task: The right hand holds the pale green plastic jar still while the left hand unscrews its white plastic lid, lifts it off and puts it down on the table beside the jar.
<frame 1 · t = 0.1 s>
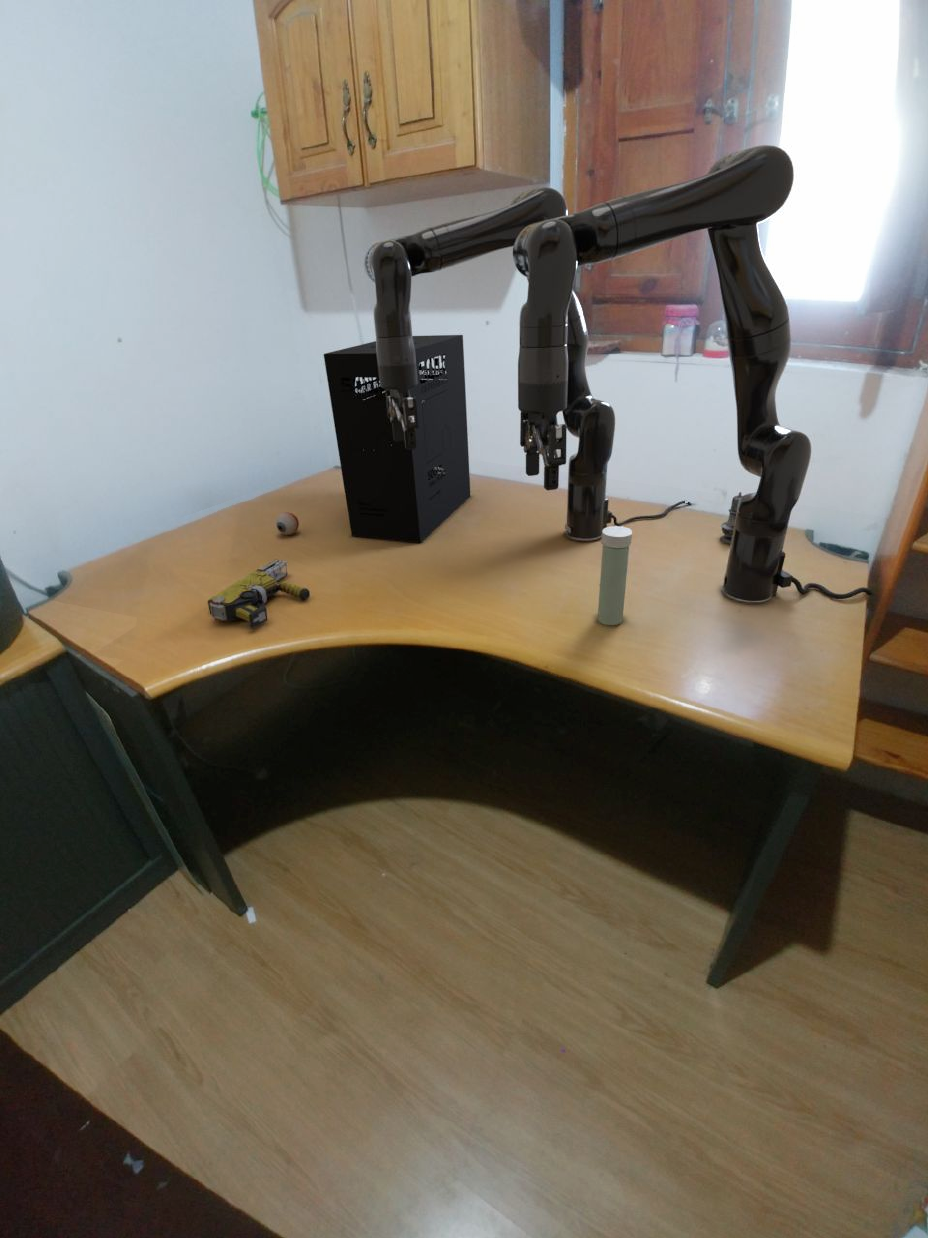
left hand: (404, 444, 126), 29 cm above the table, tool pointing down, fingers open, 8 cm apart
right hand: (541, 481, 100), 29 cm above the table, tool pointing down, fingers open, 8 cm apart
jar: (610, 619, 117), on the table
salt shaker: (731, 540, 147), on the table
cardboard box: (415, 515, 173), on the table
toy gun: (273, 601, 131), on the table
eyeball: (289, 534, 165), on the table
lid: (617, 533, 108), point 18 cm above the table, screwed on, not yet turned
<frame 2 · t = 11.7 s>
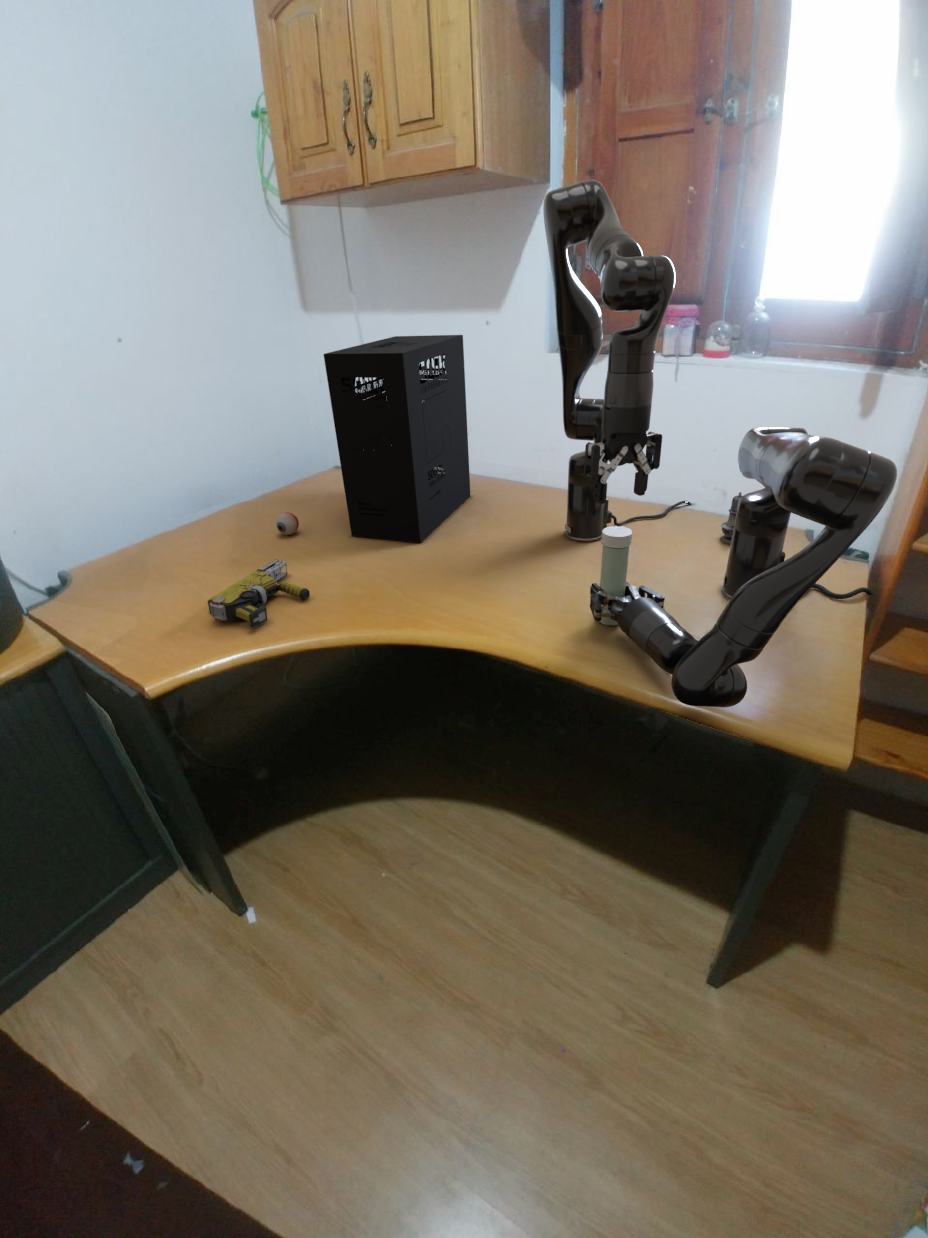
left hand: (619, 498, 105), 24 cm above the table, tool pointing down, fingers open, 7 cm apart
right hand: (605, 585, 116), 6 cm above the table, tool horizontal, fingers closed on jar, 4 cm apart
jar: (610, 619, 117), on the table, touching right hand
everything else where it was.
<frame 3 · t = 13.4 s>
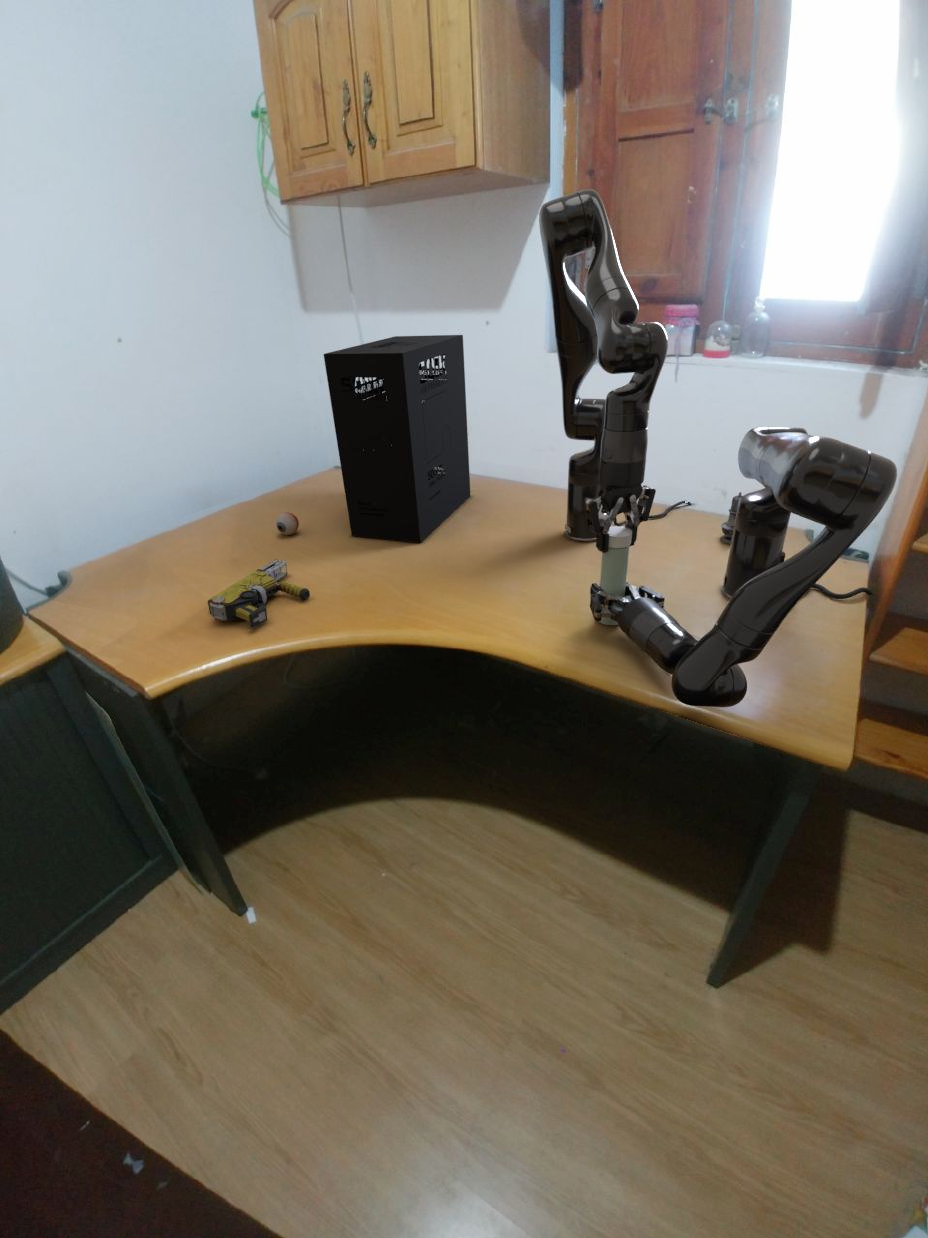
left hand: (615, 547, 110), 15 cm above the table, tool pointing down, fingers closed on lid, 5 cm apart
right hand: (605, 585, 116), 6 cm above the table, tool horizontal, fingers closed on jar, 4 cm apart
jar: (610, 619, 117), on the table, touching right hand
lid: (617, 533, 108), point 18 cm above the table, screwed on, not yet turned, touching left hand
everything else where it was.
when the left hand's fingers open (15 cm above the table, at t = 15.1 s): lid stays where it is, point 18 cm above the table.
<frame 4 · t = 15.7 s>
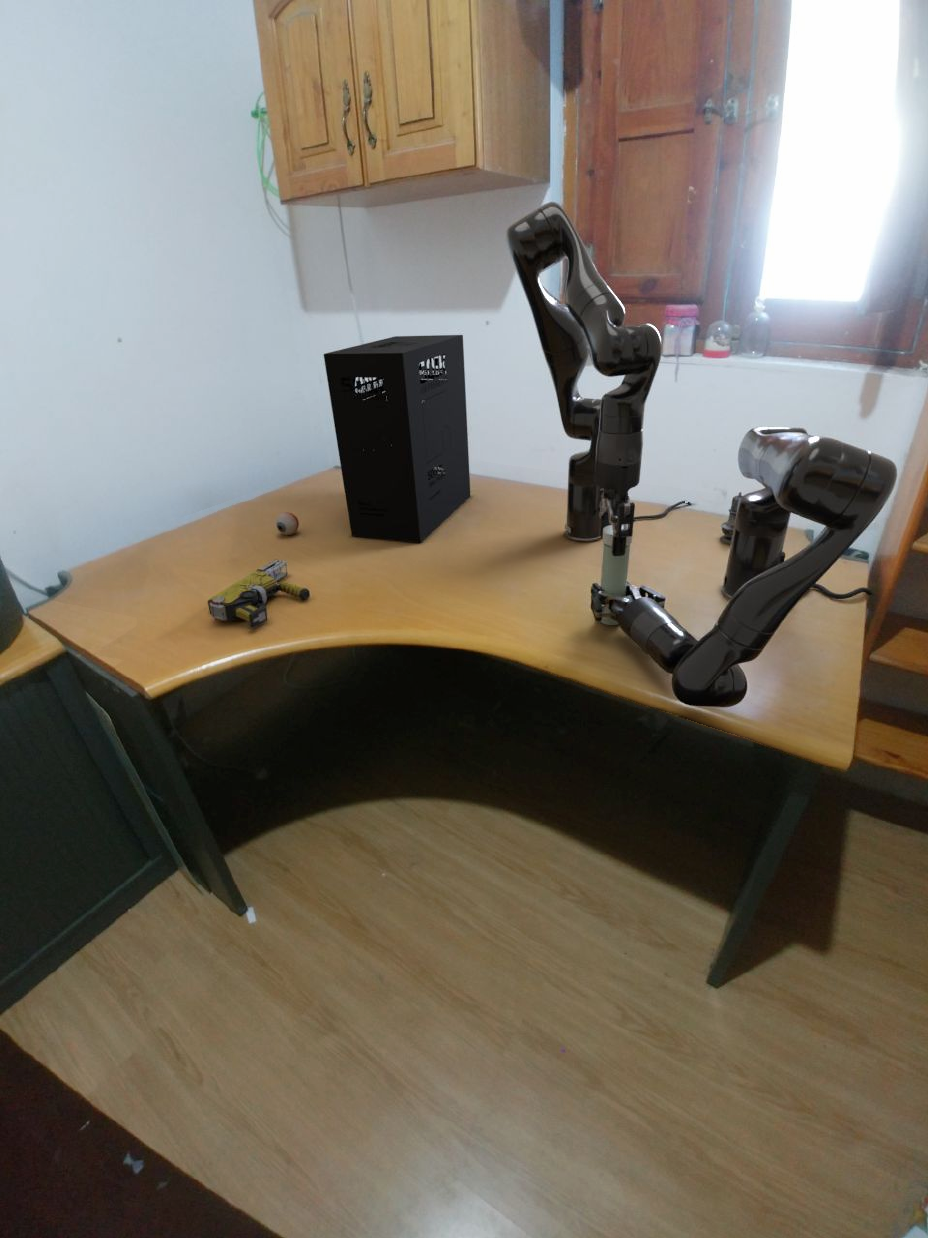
left hand: (611, 545, 110), 15 cm above the table, tool pointing down, fingers open, 7 cm apart
right hand: (606, 585, 116), 6 cm above the table, tool horizontal, fingers closed on jar, 4 cm apart
jar: (610, 619, 117), on the table, touching right hand
lid: (617, 531, 108), point 18 cm above the table, turned 100° so far, risen 0.2 cm, still on its thread
everything else where it was.
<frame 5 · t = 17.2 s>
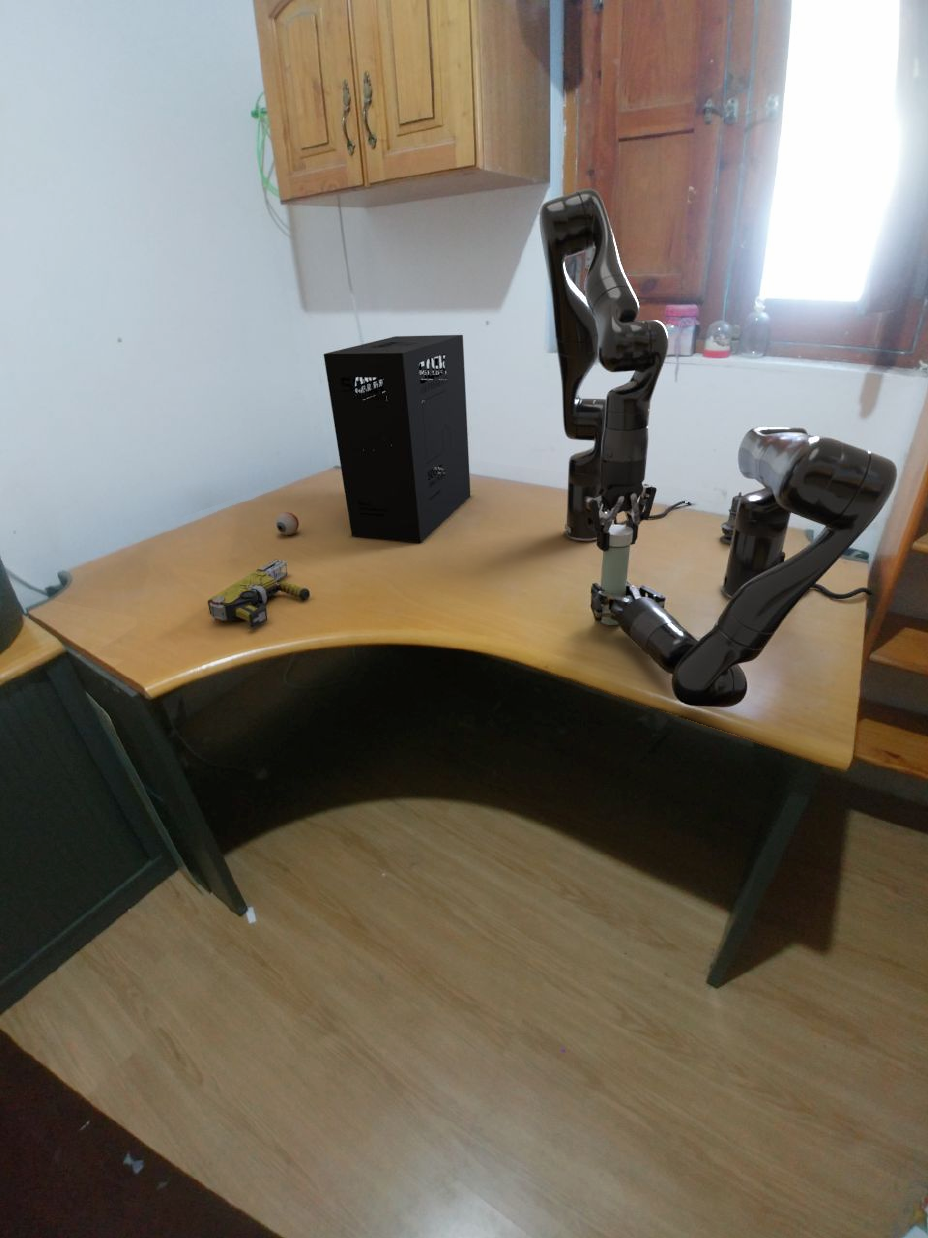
left hand: (616, 546, 110), 15 cm above the table, tool pointing down, fingers closed on lid, 5 cm apart
right hand: (606, 585, 116), 6 cm above the table, tool horizontal, fingers closed on jar, 4 cm apart
jar: (610, 619, 117), on the table, touching right hand
lid: (617, 531, 108), point 18 cm above the table, turned 100° so far, risen 0.2 cm, still on its thread, touching left hand
everything else where it was.
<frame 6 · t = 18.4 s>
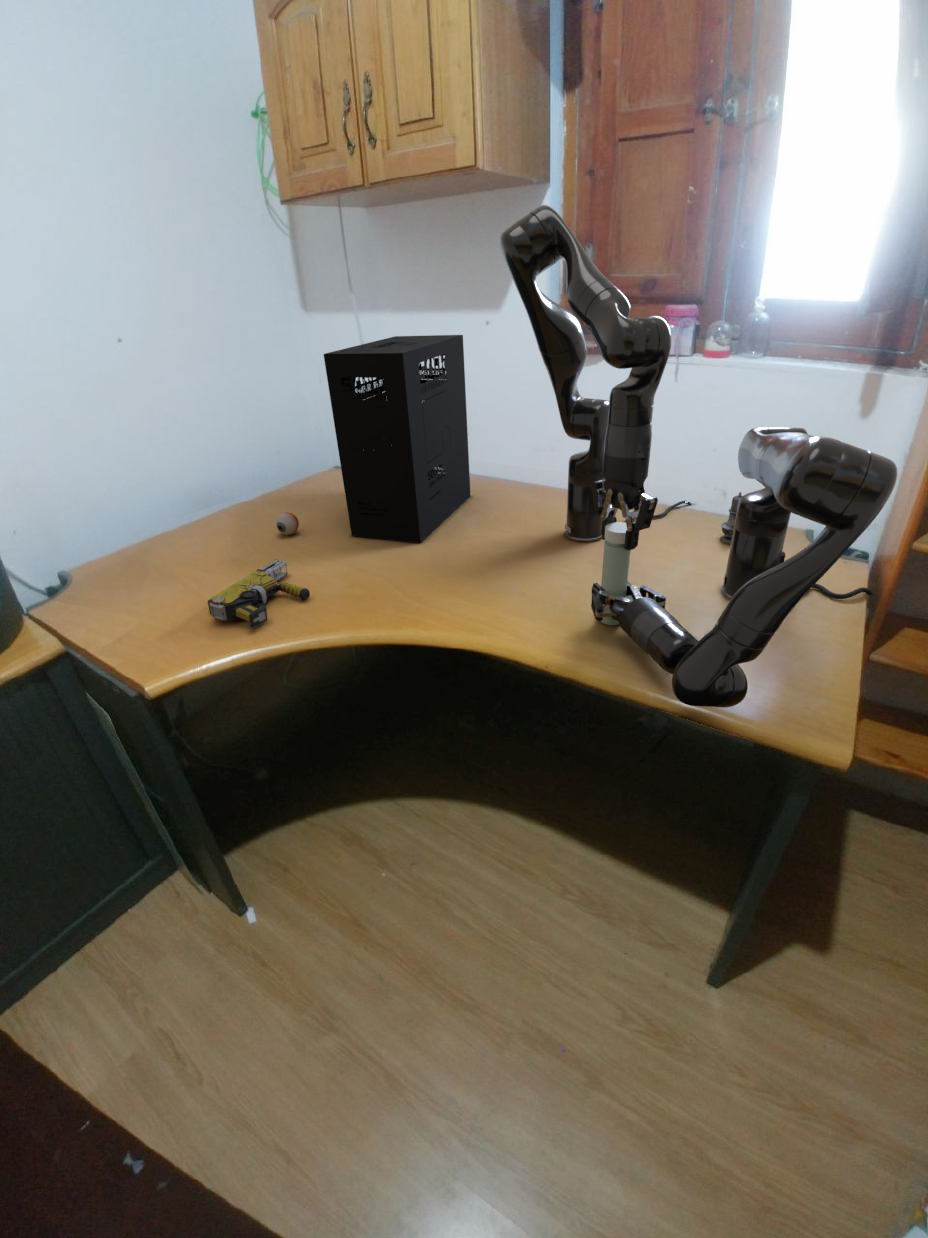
left hand: (618, 543, 109), 16 cm above the table, tool pointing down, fingers closed on lid, 5 cm apart
right hand: (607, 585, 116), 6 cm above the table, tool horizontal, fingers closed on jar, 4 cm apart
jar: (611, 619, 117), on the table, touching right hand
lid: (620, 529, 108), point 19 cm above the table, off its thread, touching left hand
everything else where it was.
when the left hand's fingers open (0 cm above the table, at t = 24.6 s): lid drops 1 cm, point 2 cm above the table.
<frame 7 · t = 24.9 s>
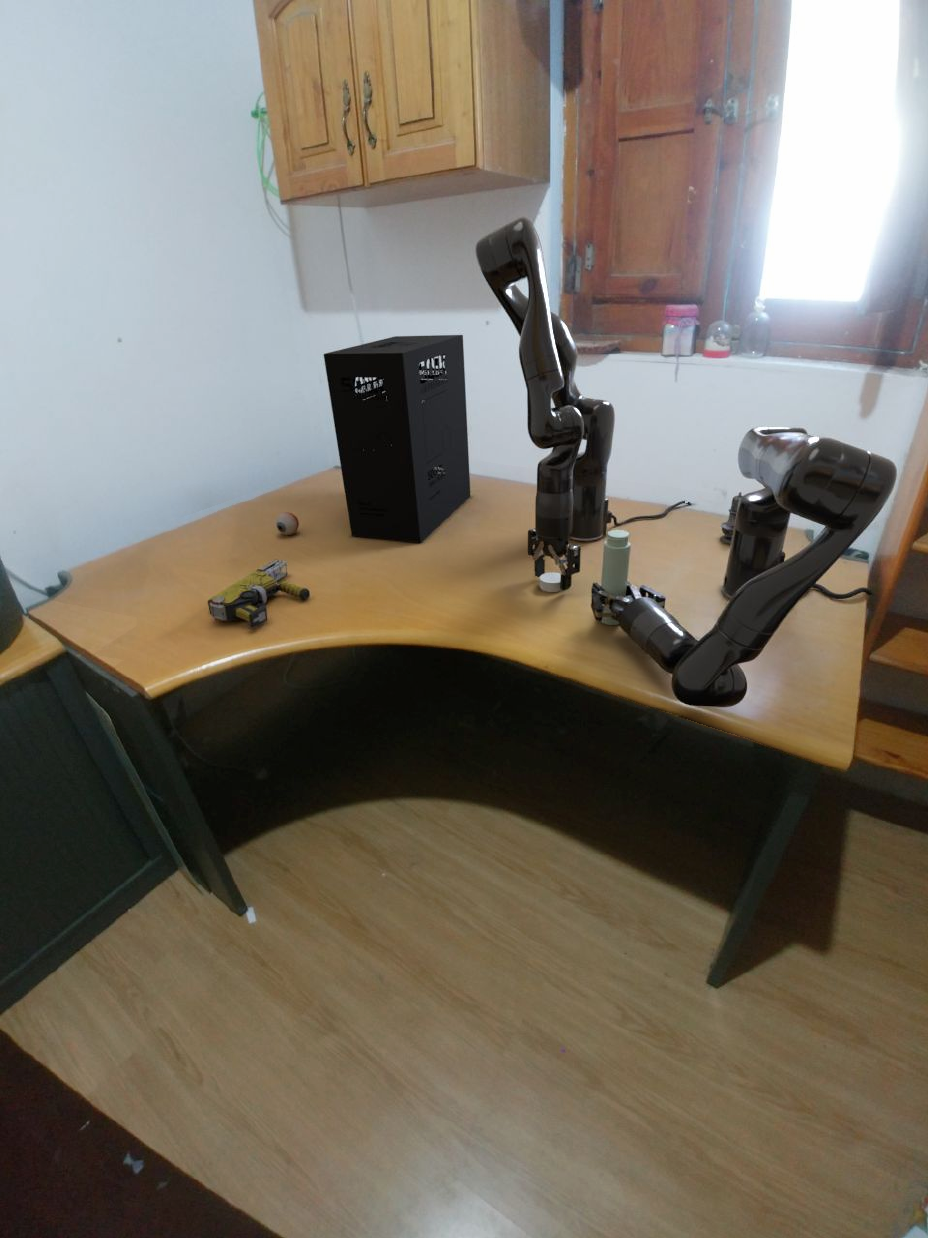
left hand: (552, 582, 130), 1 cm above the table, tool pointing down, fingers open, 8 cm apart
right hand: (607, 585, 117), 6 cm above the table, tool horizontal, fingers closed on jar, 4 cm apart
jar: (611, 618, 117), on the table, touching right hand
lid: (551, 579, 129), point 2 cm above the table, off its thread
everything else where it was.
when the right hand's fingers open (6 cm above the table, at t = 25.7 s): jar stays where it is, on the table.
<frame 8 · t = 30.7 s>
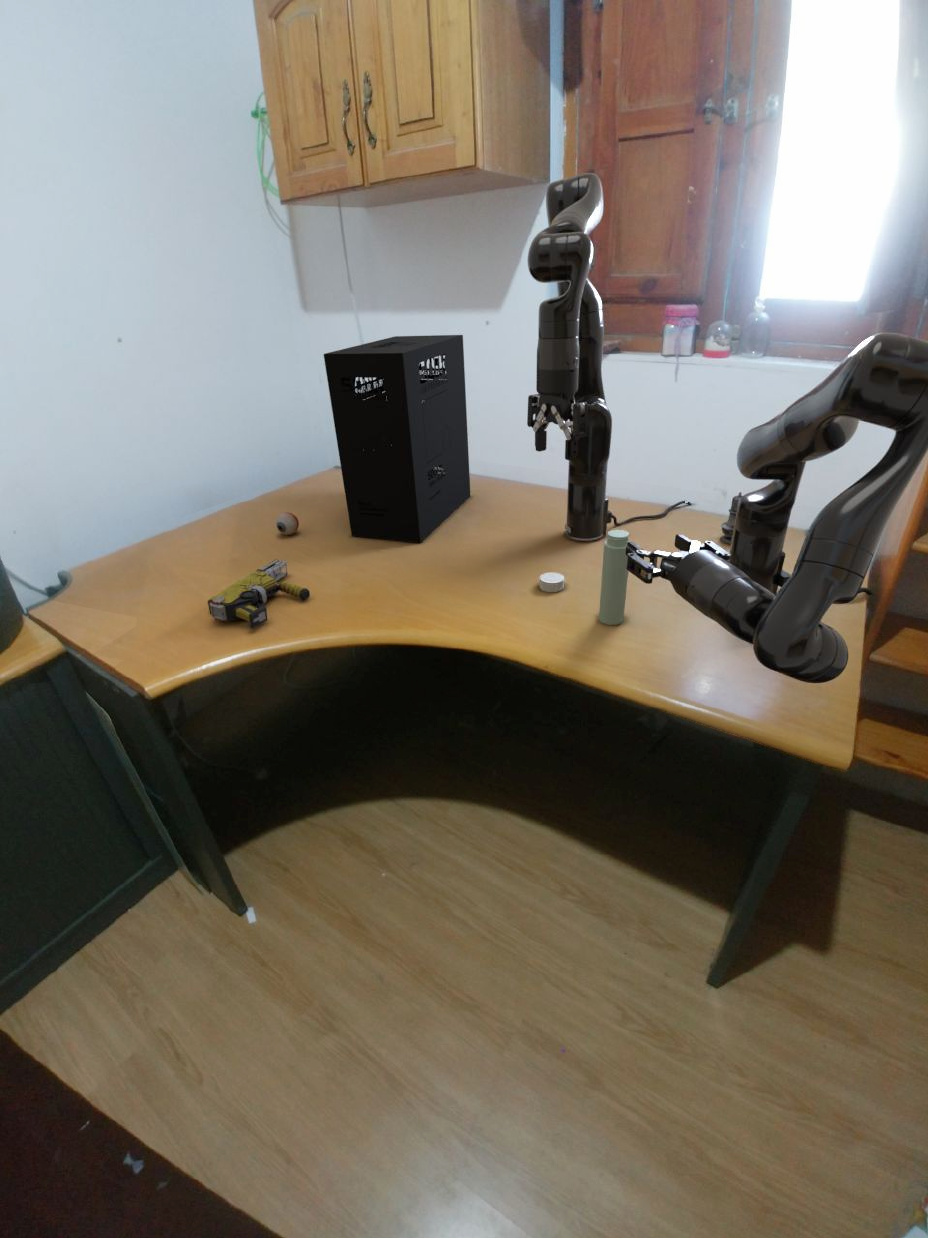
left hand: (555, 454, 116), 28 cm above the table, tool pointing down, fingers open, 8 cm apart
right hand: (652, 543, 97), 21 cm above the table, tool horizontal, fingers open, 8 cm apart
jar: (611, 618, 117), on the table
everything else where it was.
at the end: lid came off its thread; lid point 1.8 cm above the table; the left hand is holding nothing; the right hand is holding nothing; jar tilted 0°; jar moved 0.3 cm from its start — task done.
